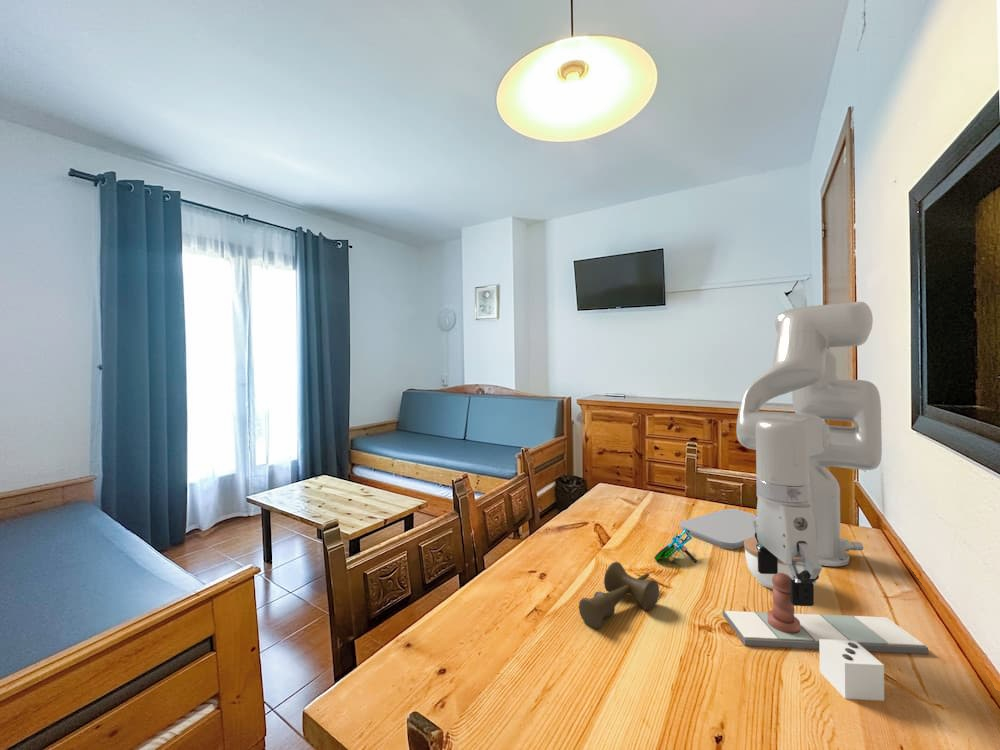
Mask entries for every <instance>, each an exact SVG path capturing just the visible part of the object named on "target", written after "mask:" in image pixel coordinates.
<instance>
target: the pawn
mask: <svg viewBox="0 0 1000 750" xmlns="http://www.w3.org/2000/svg"><path fill="white" fill-rule="evenodd" d="M790 580H792V578H791V577H789V576H788V575H786V574H784V573H777V574H775V575H774V576H773V578H772V584H773V589H772V610H769V611H767V612H768V614H767V615H768V623H769V625H770V626H772V627H773V628H775V629H776V630H779V631H781V632H784V633H789V634H796V633H799V632H800V621H799V620H798V619H797V618H796V617H795V616H794V613H795V606H794V605H793V604H792V603H791V597H790Z"/></svg>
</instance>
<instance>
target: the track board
mask: <svg viewBox="0 0 1000 750" xmlns="http://www.w3.org/2000/svg"><path fill="white" fill-rule="evenodd" d="M768 612H769V611H767V612H766V611H764V612H763V611H744V610H743V611H742V610H741V611H739V610H723V611H722V617H723V619H725V621H726V622H727V624H729V626H730V627H731V629H732V630H733V632H734V633H735V634H736V636H737V637H738V639H740V641H741V642H742V643H743V645H744V647H745V646H746V647H747V646H749V647H765V648H766V647H769V648H789V649H808V650H809V649H811V650H819V639H830V640H853V641H856V642H857V643H859V644H860V645H861V646H862V647H863V648H864V649H866V650H867V651H868V652H870V653H871V652H873V653H874V652H875V653H898V654H914V655H915V654H916V655H917V654H918V655H919V654H920V655H929V647H928V646H926V645H925V643H923V642H921V641H920V640H918V639H917V638H915V637H914V636H913V635H912V634H910V633H909V632H907V631H906V630H904V629H903V628H902V627H901V626H899V625H898V624H896V623H895V622H893V621H892V620H890V619H889V618H888V617H886V616H876V615H875V616H874V615H873V616H871V615H870V616H869V615H848V614H847V615H846V614H845V615H844V614H841V615H840V614H822V613H817V614H816V613H795V612H794V616H795V617H796V618H797V619H798V620H799V621H800V632H799V633H796V634H789V633H784V632H781V631H779V630H776V629H775V628H773V627H772V626H770V625H769V623H768V615H767V614H768Z"/></svg>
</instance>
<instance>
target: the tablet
mask: <svg viewBox="0 0 1000 750" xmlns="http://www.w3.org/2000/svg"><path fill="white" fill-rule="evenodd" d="M756 515H757V514H754V513H752V512H748V511H745V510H741V509H738V508H723V509H720V510H718V511H714V512H710V513H706V514H703V515H699V516H697V517H693V518H689V519H685V520H682V521H680V522H679V527H680V528H681V529H682V533H683V532H684V531H685V530H686V529H688V530H689V531H690V533H689V532H688V531H687V532H686V533H688V534H689V535H690V536H691V537H694V538H697V539H699V540H702V541H705V542H706V543H709V544H711V545H714V546H716V547H719V548H721V549H726V550H736V549H738V548H741V547H744V541H745V540H746V539H748V538H751V537H755V533H756V532H755V529H754V525H753V521H756ZM686 533H685V534H686Z"/></svg>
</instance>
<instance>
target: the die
mask: <svg viewBox="0 0 1000 750" xmlns="http://www.w3.org/2000/svg"><path fill="white" fill-rule="evenodd" d="M818 650H819V673H821V675H822V676H824V678H825V679H826V680H827V681H828V683H830V684H831V685H832V686H833V687H834V689H836V690H837V692H838V693H839V694H840V695H841V696H842V697H843V698H844V699H848V700H864V701H865V700H866V701H883V702H884V701H885V665H884V663H882V662H881V661H880V659H877V658H876V657H875V656H874V655H873V654H872V653H871V652H870V651H867V650H866V649H864V648H863V647H862V646H861V645H860V644H859V643H857V642H856V641H853V640H830V639H819V649H818Z"/></svg>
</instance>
